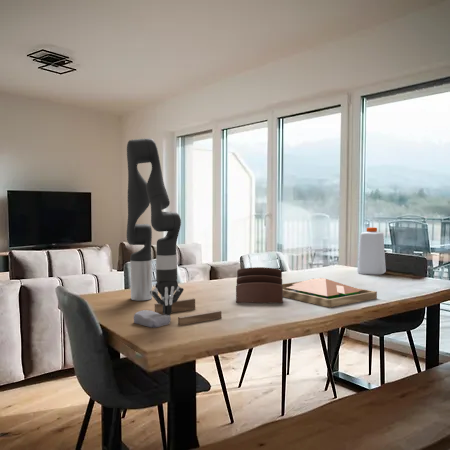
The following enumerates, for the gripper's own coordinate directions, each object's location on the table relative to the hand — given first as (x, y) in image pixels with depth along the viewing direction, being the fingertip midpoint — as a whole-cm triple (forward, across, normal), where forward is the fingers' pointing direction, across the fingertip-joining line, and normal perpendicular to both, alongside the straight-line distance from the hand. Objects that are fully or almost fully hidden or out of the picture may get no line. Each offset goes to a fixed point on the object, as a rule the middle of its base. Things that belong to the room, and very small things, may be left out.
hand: (167, 315), depth 160 cm
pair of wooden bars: (+2, -8, 0) cm, 9 cm away
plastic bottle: (+2, -155, -29) cm, 158 cm away
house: (+2, -79, +1) cm, 79 cm away
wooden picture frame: (+2, -77, +1) cm, 77 cm away
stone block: (+2, +6, +1) cm, 6 cm away
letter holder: (+2, -48, -6) cm, 48 cm away
